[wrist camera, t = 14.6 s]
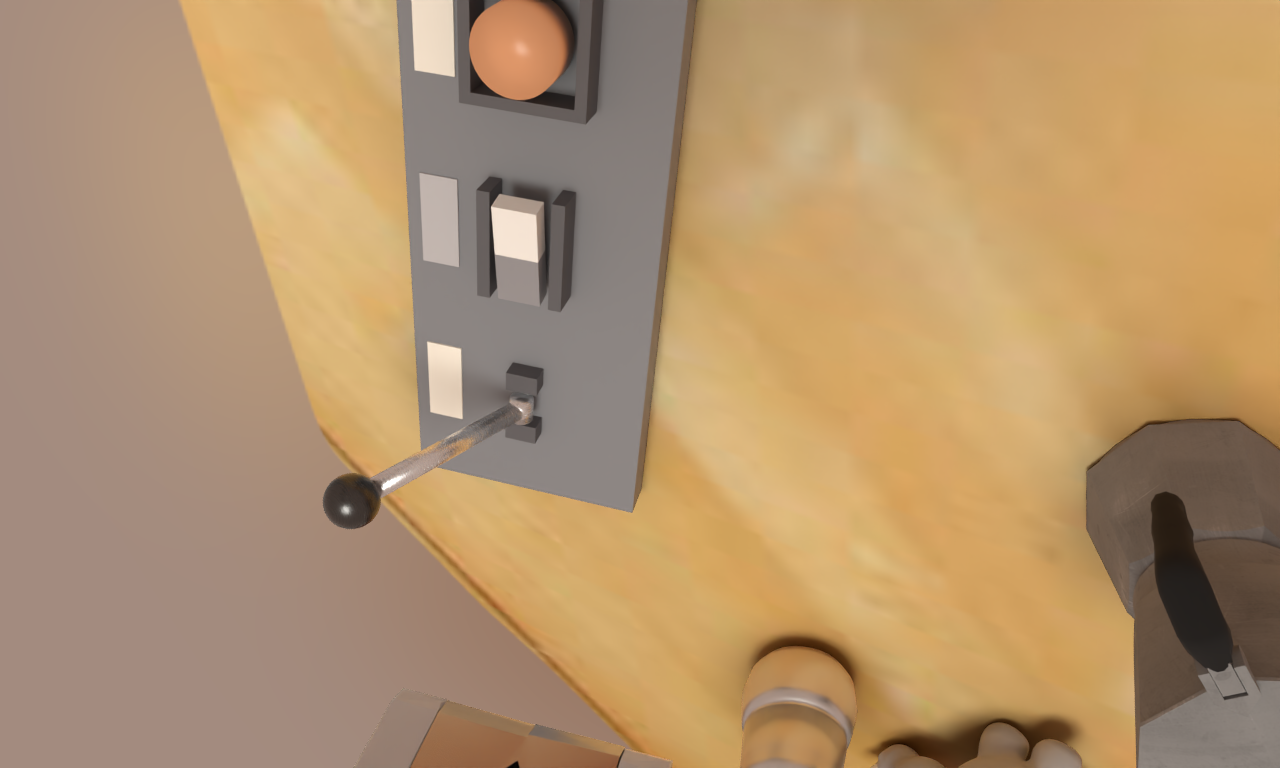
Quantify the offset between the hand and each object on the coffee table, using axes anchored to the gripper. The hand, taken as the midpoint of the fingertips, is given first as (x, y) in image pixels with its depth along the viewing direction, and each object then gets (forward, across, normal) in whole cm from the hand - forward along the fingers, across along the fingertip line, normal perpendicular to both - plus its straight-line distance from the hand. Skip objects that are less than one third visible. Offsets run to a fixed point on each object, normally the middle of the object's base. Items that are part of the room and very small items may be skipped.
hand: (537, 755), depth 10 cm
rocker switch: (+31, +11, +11) cm, 34 cm away
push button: (+31, +11, +2) cm, 33 cm away
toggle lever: (+31, +11, +20) cm, 39 cm away
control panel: (+34, +11, +11) cm, 38 cm away
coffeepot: (+34, -20, +18) cm, 44 cm away
